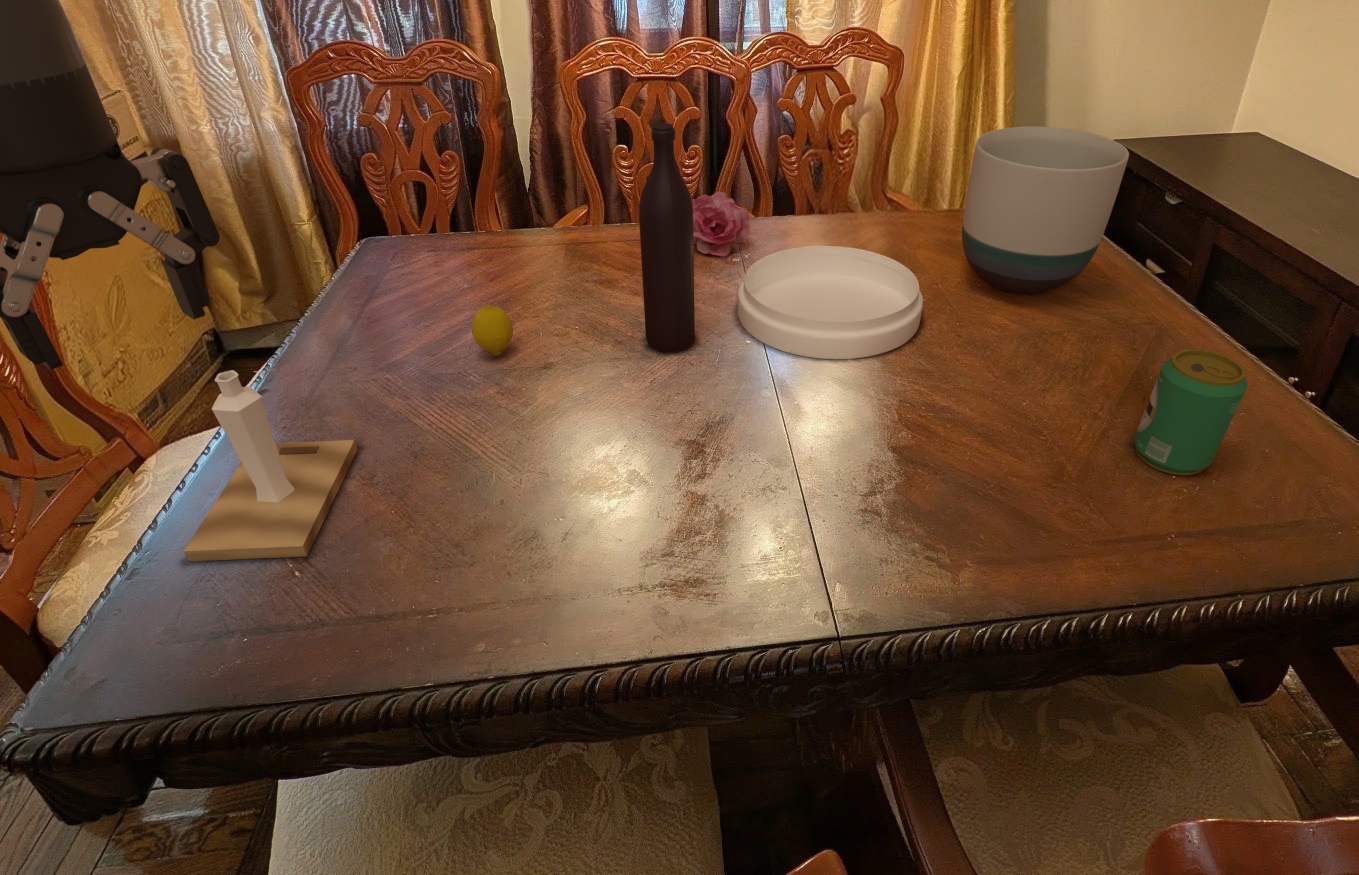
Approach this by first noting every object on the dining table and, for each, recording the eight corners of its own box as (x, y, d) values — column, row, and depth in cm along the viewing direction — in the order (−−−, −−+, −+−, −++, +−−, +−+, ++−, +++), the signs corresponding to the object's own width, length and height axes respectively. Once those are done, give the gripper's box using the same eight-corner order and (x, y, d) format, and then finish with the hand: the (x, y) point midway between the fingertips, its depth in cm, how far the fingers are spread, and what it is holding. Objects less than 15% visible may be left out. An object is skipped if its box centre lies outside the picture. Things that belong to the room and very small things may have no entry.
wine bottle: (701, 349, 113) (699, 130, 95) (653, 357, 112) (641, 137, 94) (687, 326, 119) (682, 115, 101) (640, 333, 117) (628, 121, 99)
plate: (958, 331, 115) (966, 297, 112) (799, 378, 106) (801, 343, 103) (849, 262, 135) (852, 231, 132) (706, 297, 126) (706, 265, 123)
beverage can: (1138, 427, 96) (1172, 339, 89) (1214, 449, 92) (1256, 359, 85) (1124, 461, 91) (1159, 371, 84) (1203, 486, 87) (1248, 394, 80)
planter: (923, 277, 130) (946, 142, 117) (1005, 247, 138) (1035, 118, 126) (1029, 327, 116) (1069, 180, 103) (1114, 290, 125) (1160, 150, 112)
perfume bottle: (306, 479, 89) (261, 364, 81) (285, 505, 86) (236, 388, 77) (268, 476, 90) (219, 362, 81) (246, 502, 87) (192, 385, 78)
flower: (732, 275, 140) (705, 239, 132) (694, 263, 146) (666, 227, 139) (768, 224, 141) (743, 185, 133) (729, 214, 147) (703, 176, 140)
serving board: (307, 556, 82) (302, 544, 81) (188, 561, 82) (182, 549, 81) (357, 449, 96) (354, 438, 95) (257, 453, 96) (252, 442, 95)
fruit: (512, 341, 116) (504, 291, 112) (520, 359, 112) (511, 308, 108) (474, 348, 115) (464, 298, 110) (480, 367, 111) (469, 315, 106)
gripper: (-159, 101, 36) (19, 406, 45) (171, 52, 45) (262, 315, 54) (-193, 79, 40) (-22, 364, 49) (117, 38, 48) (211, 286, 58)
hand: (127, 338), depth 52 cm, fingers open, 8 cm apart
